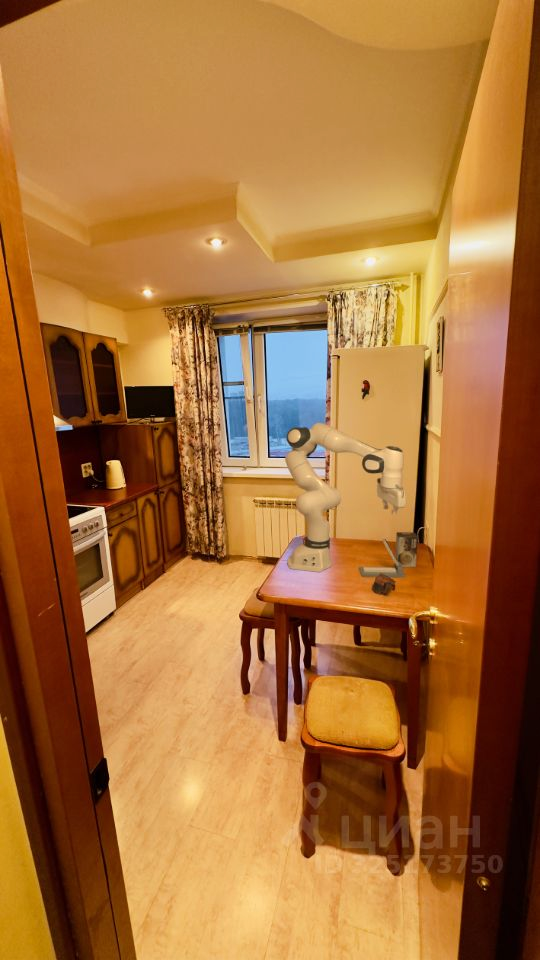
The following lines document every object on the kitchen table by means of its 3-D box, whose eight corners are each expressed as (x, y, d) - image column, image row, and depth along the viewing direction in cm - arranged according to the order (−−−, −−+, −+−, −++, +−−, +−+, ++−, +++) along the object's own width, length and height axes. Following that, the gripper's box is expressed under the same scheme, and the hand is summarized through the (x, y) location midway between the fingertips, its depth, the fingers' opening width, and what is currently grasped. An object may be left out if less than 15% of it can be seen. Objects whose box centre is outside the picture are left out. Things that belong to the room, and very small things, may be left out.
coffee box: (412, 561, 186) (414, 532, 182) (416, 567, 179) (418, 537, 176) (394, 561, 186) (396, 531, 183) (397, 566, 180) (399, 536, 176)
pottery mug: (367, 586, 163) (375, 570, 164) (386, 595, 163) (393, 579, 164) (376, 594, 151) (384, 576, 152) (396, 604, 151) (404, 586, 152)
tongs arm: (397, 567, 175) (400, 565, 174) (399, 570, 171) (402, 568, 171) (381, 539, 172) (384, 537, 172) (383, 542, 169) (386, 540, 168)
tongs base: (361, 576, 171) (362, 568, 170) (358, 568, 179) (359, 560, 178) (405, 577, 170) (405, 569, 169) (400, 569, 177) (400, 561, 176)
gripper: (410, 487, 154) (408, 518, 157) (387, 477, 174) (385, 504, 177) (397, 488, 153) (394, 519, 156) (375, 477, 173) (373, 505, 176)
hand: (389, 511), depth 167 cm, fingers open, 6 cm apart
